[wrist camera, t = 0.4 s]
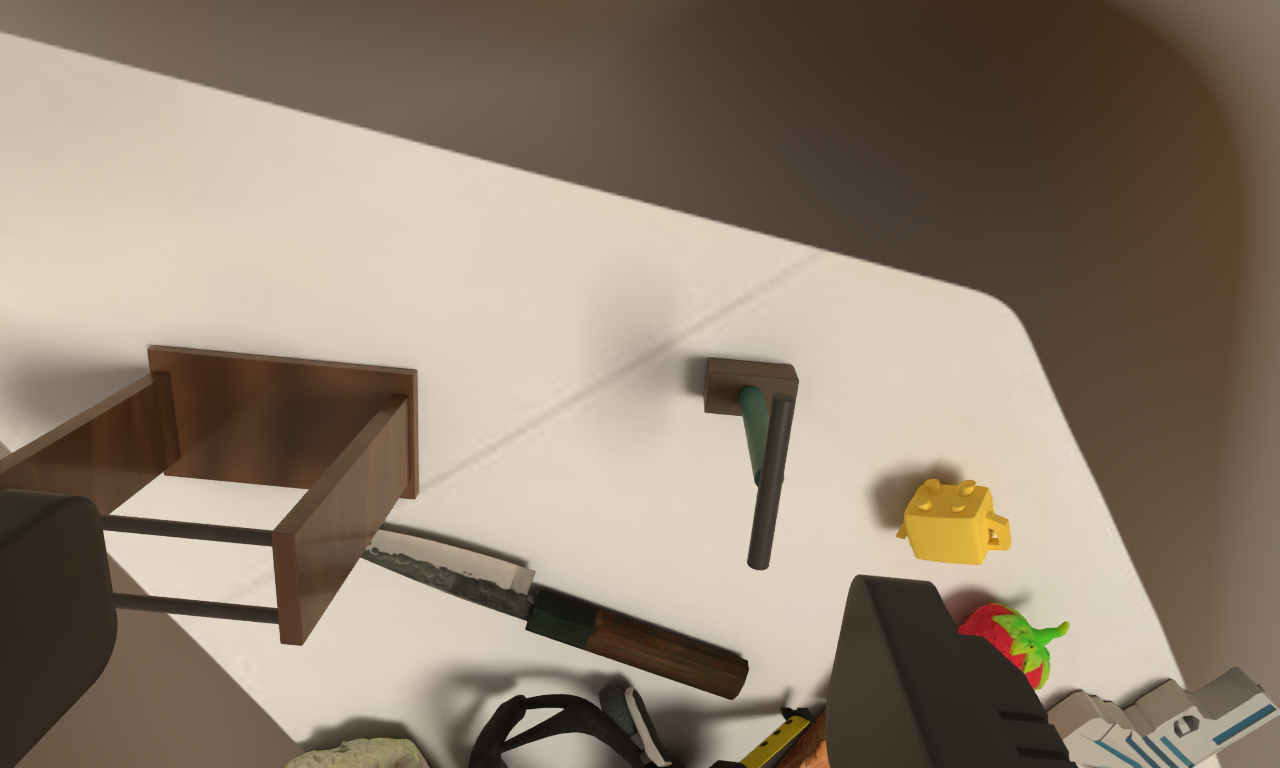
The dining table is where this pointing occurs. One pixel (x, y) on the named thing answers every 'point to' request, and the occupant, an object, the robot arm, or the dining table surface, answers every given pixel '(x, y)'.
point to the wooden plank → (809, 748)
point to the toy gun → (1162, 724)
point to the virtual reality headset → (577, 727)
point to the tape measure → (773, 740)
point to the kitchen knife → (557, 612)
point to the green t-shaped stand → (757, 432)
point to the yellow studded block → (954, 523)
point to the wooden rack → (245, 463)
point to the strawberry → (1015, 639)
